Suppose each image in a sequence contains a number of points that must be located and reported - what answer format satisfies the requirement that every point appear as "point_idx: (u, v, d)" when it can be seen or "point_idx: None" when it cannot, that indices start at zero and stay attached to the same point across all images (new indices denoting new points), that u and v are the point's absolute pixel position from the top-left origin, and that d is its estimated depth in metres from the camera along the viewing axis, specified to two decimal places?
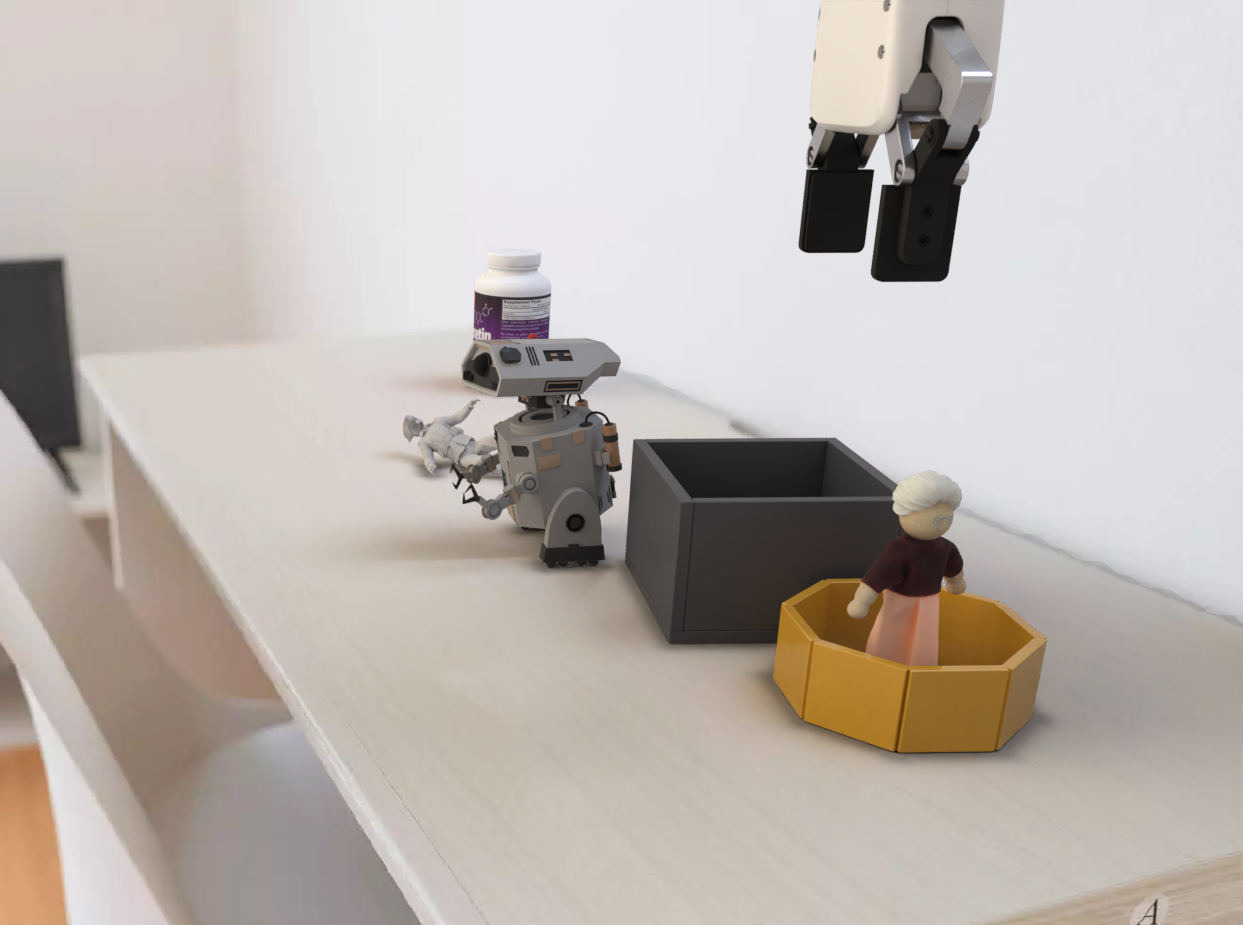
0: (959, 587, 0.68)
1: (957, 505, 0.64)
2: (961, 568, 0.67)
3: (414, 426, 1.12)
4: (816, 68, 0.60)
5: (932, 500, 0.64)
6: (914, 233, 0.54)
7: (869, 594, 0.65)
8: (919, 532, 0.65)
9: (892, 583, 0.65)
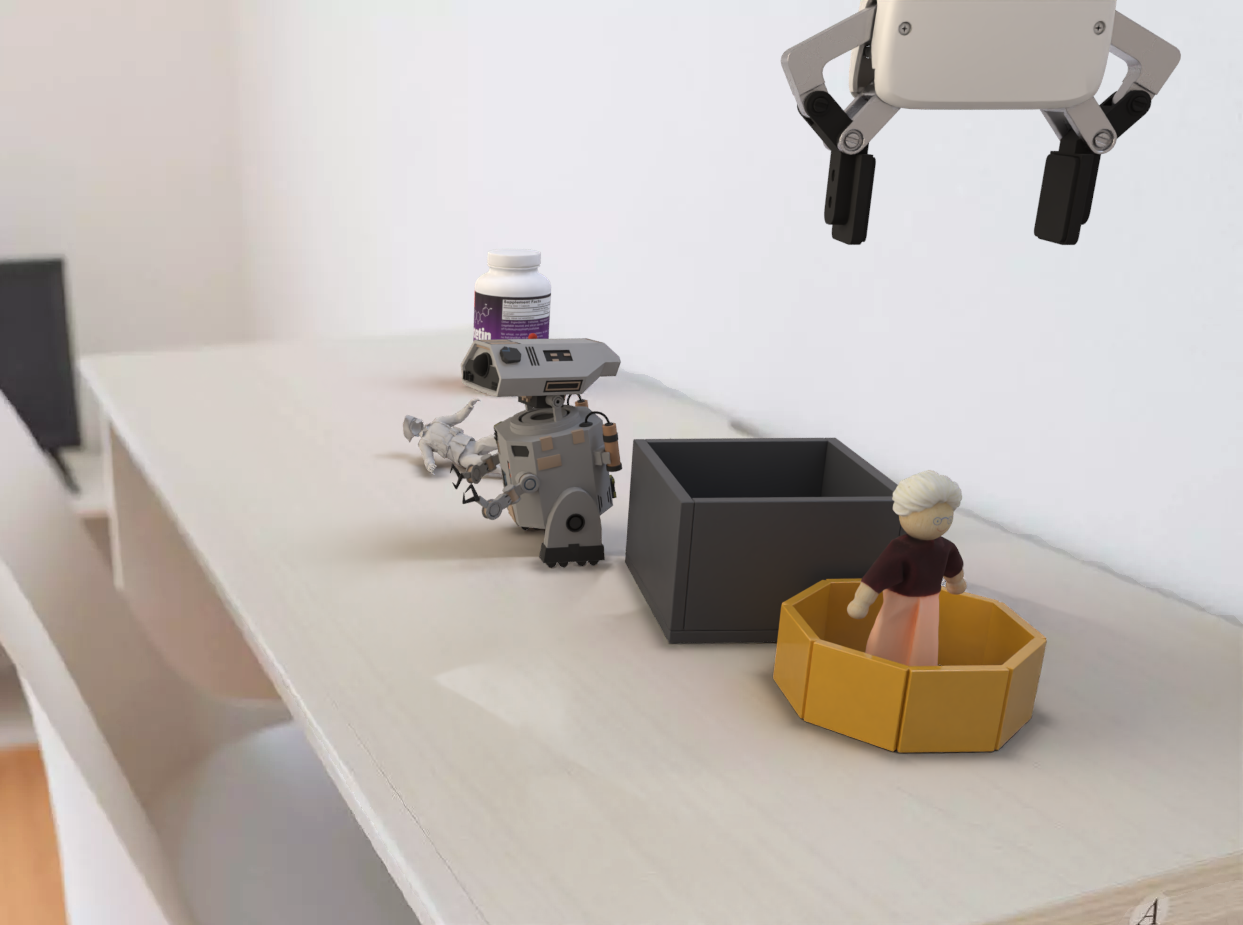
0: (959, 587, 0.68)
1: (957, 505, 0.64)
2: (961, 568, 0.67)
3: (414, 426, 1.12)
4: (918, 42, 0.55)
5: (932, 500, 0.64)
6: (1089, 196, 0.59)
7: (869, 594, 0.65)
8: (919, 532, 0.65)
9: (892, 583, 0.65)
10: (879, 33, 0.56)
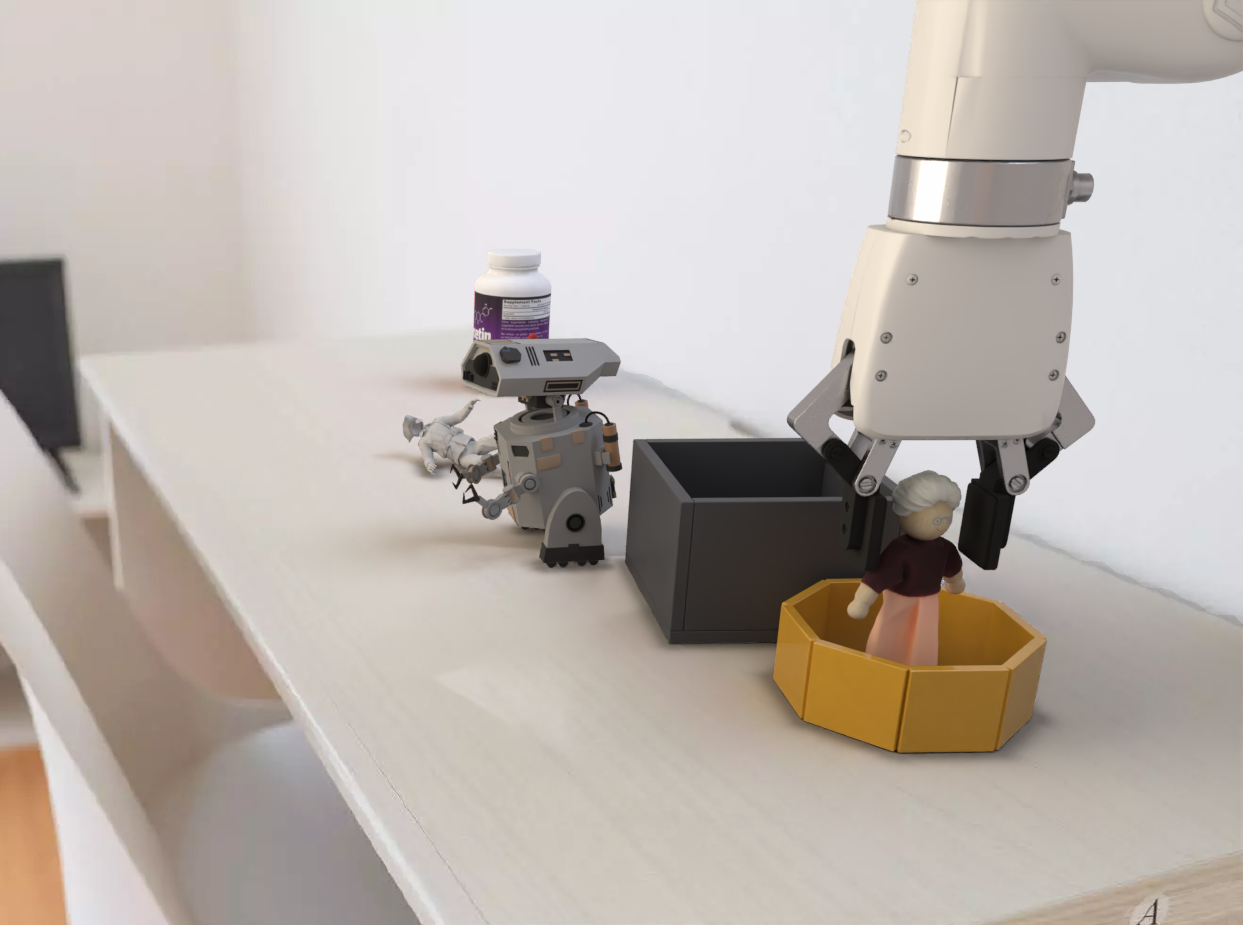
0: (958, 587, 0.68)
1: (956, 505, 0.64)
2: (960, 568, 0.67)
3: (414, 426, 1.12)
4: (893, 388, 0.61)
5: (932, 500, 0.64)
6: (1006, 525, 0.65)
7: (869, 594, 0.65)
8: (919, 532, 0.65)
9: (892, 583, 0.65)
10: (857, 376, 0.61)
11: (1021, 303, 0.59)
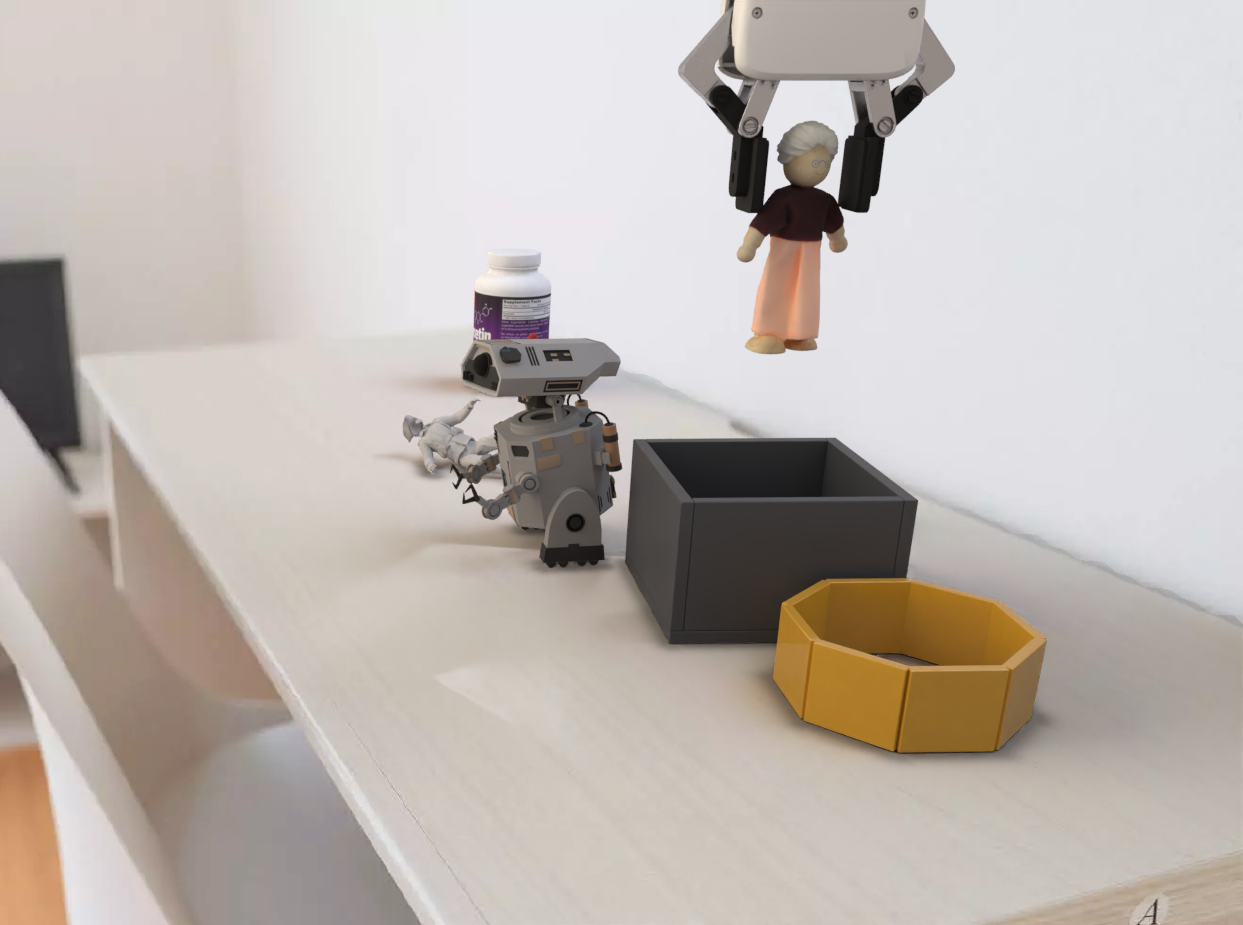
0: (840, 243, 0.74)
1: (834, 151, 0.71)
2: (841, 223, 0.74)
3: (414, 426, 1.12)
4: (768, 24, 0.67)
5: (811, 143, 0.70)
6: (878, 172, 0.72)
7: (755, 236, 0.72)
8: (800, 176, 0.71)
9: (776, 226, 0.72)
10: (737, 17, 0.68)
11: None
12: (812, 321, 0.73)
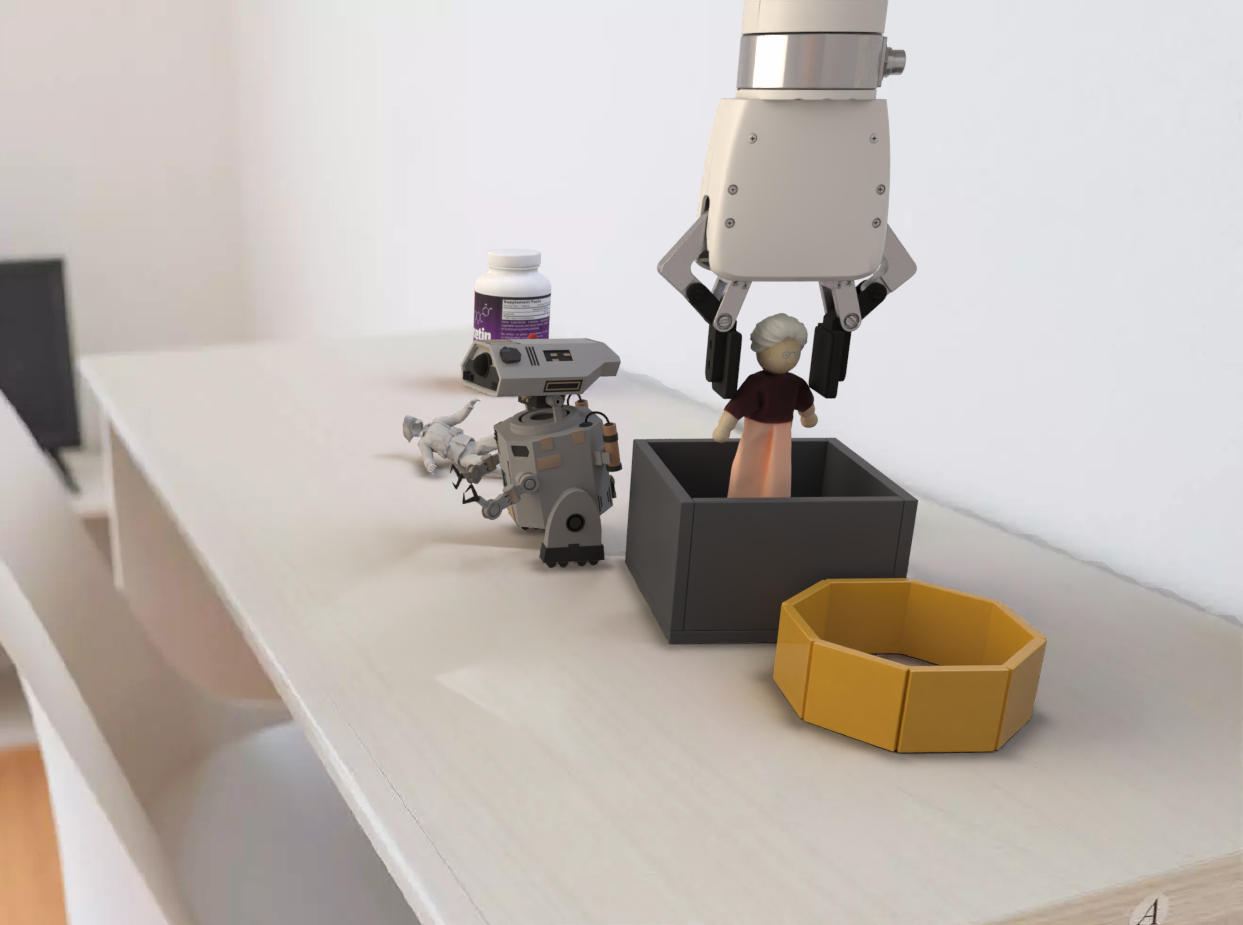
0: (811, 420, 0.79)
1: (803, 342, 0.75)
2: (812, 403, 0.78)
3: (414, 426, 1.12)
4: (740, 234, 0.72)
5: (781, 336, 0.75)
6: (845, 360, 0.76)
7: (730, 419, 0.76)
8: (771, 365, 0.76)
9: (749, 410, 0.76)
10: (711, 225, 0.72)
11: (845, 159, 0.70)
12: (783, 496, 0.78)
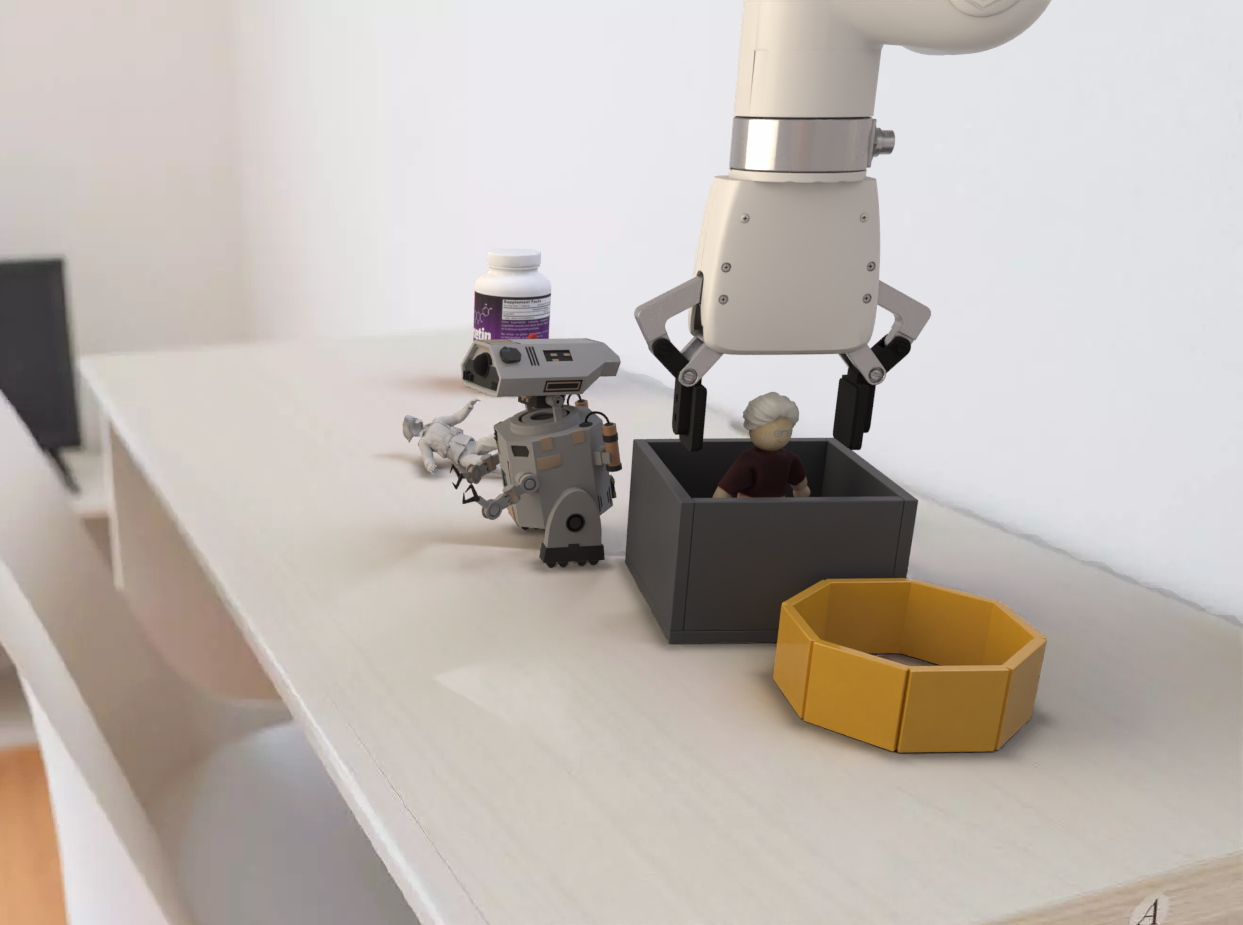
0: (803, 493, 0.81)
1: (795, 420, 0.77)
2: (804, 477, 0.80)
3: (414, 426, 1.12)
4: (733, 310, 0.73)
5: (773, 415, 0.76)
6: (869, 412, 0.77)
7: (723, 496, 0.78)
8: (764, 443, 0.77)
9: (742, 487, 0.78)
10: (705, 300, 0.74)
11: (835, 237, 0.72)
12: None
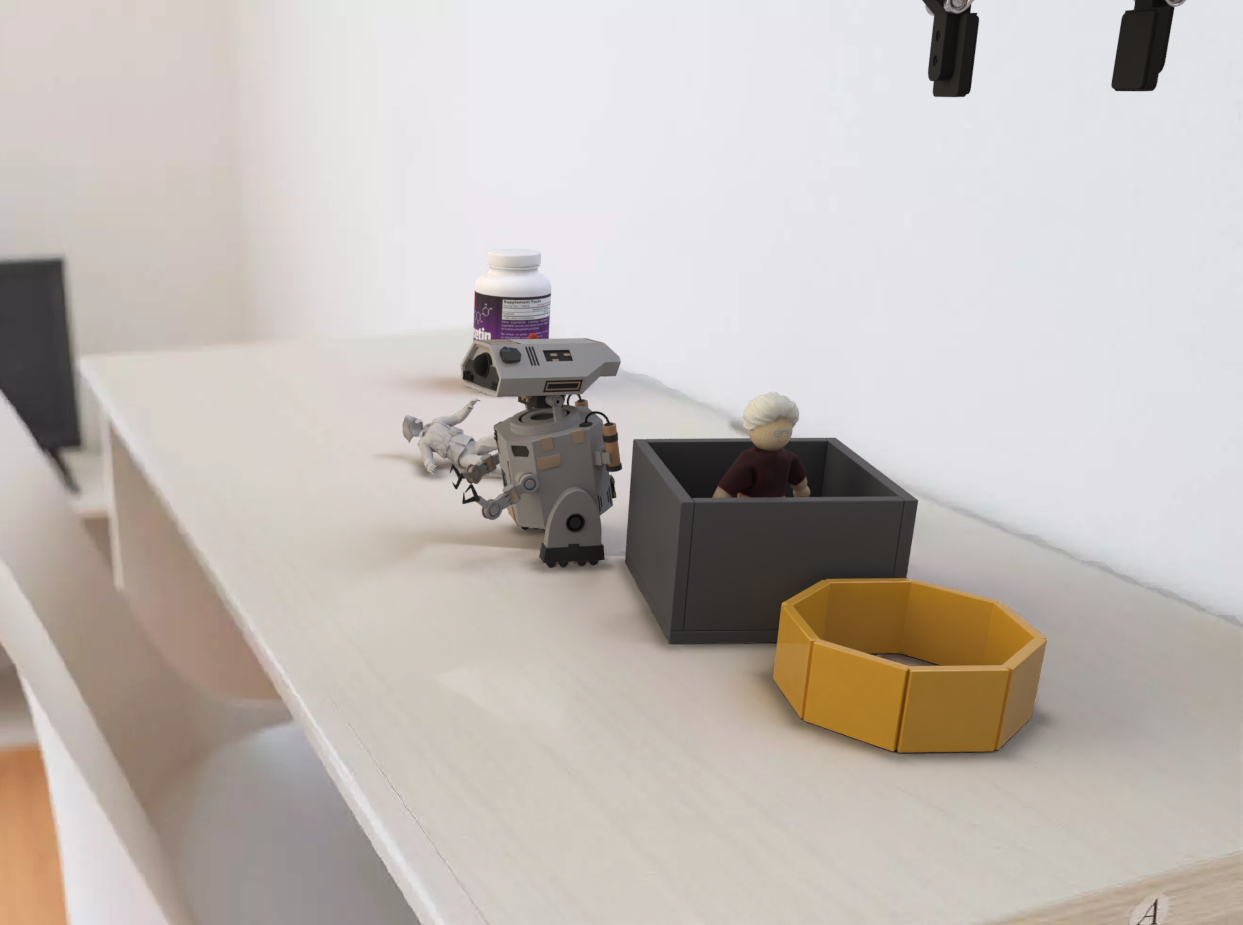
0: (803, 493, 0.81)
1: (795, 420, 0.77)
2: (804, 477, 0.80)
3: (414, 426, 1.12)
4: None
5: (773, 415, 0.76)
6: (1163, 47, 0.66)
7: (723, 496, 0.78)
8: (764, 443, 0.77)
9: (742, 487, 0.78)
10: None
11: None
12: None
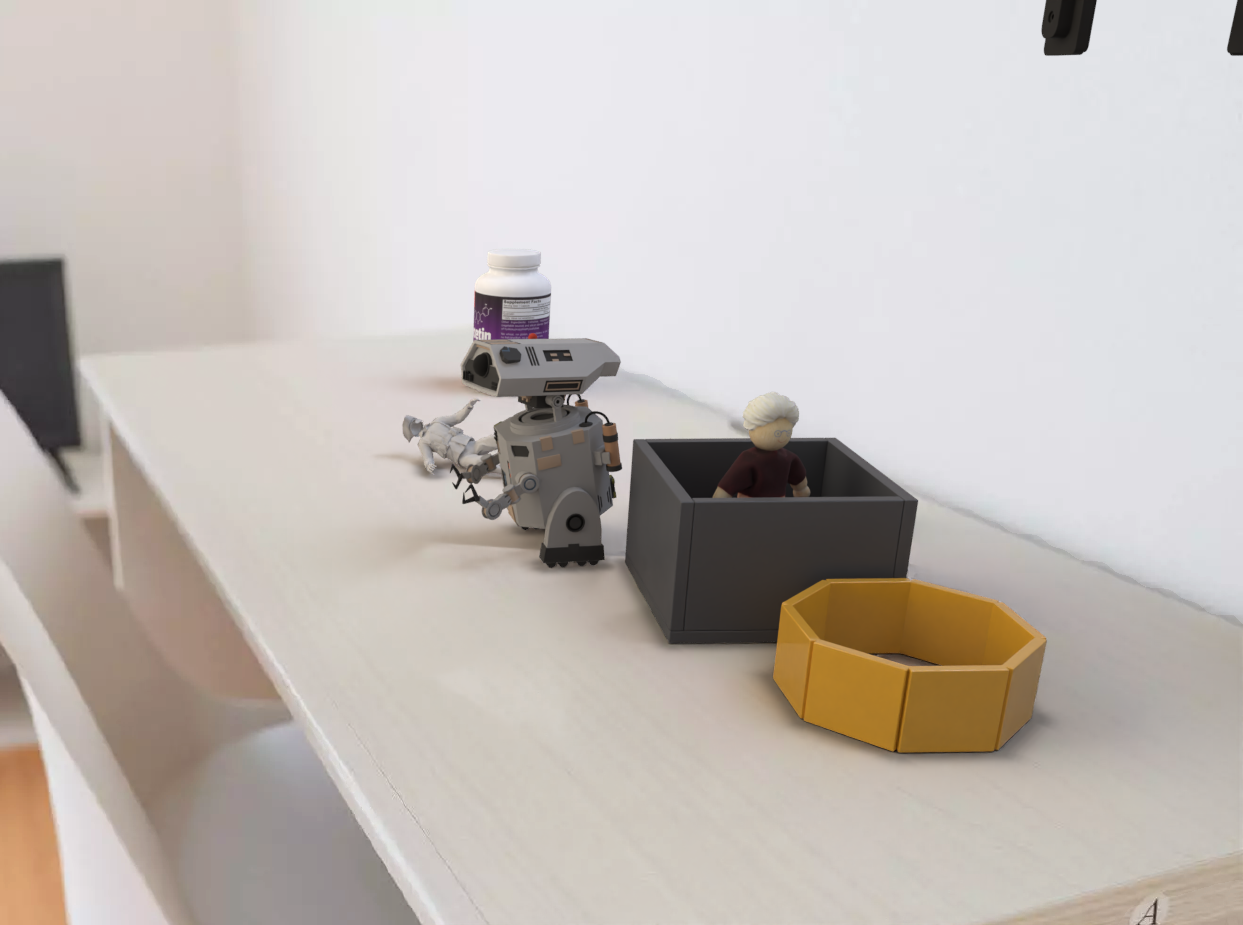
0: (803, 493, 0.81)
1: (795, 420, 0.77)
2: (804, 477, 0.80)
3: (414, 426, 1.12)
4: None
5: (773, 415, 0.76)
6: None
7: (723, 496, 0.78)
8: (764, 443, 0.77)
9: (742, 487, 0.78)
10: None
11: None
12: None
